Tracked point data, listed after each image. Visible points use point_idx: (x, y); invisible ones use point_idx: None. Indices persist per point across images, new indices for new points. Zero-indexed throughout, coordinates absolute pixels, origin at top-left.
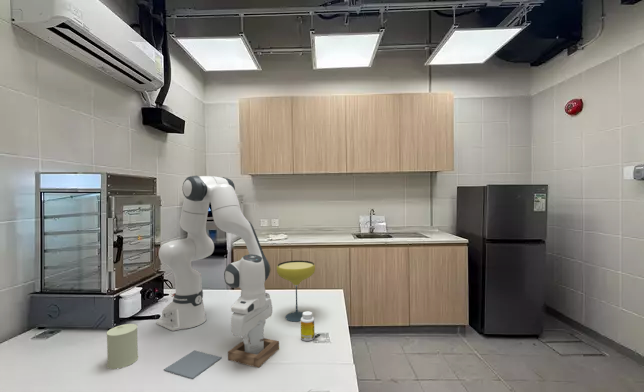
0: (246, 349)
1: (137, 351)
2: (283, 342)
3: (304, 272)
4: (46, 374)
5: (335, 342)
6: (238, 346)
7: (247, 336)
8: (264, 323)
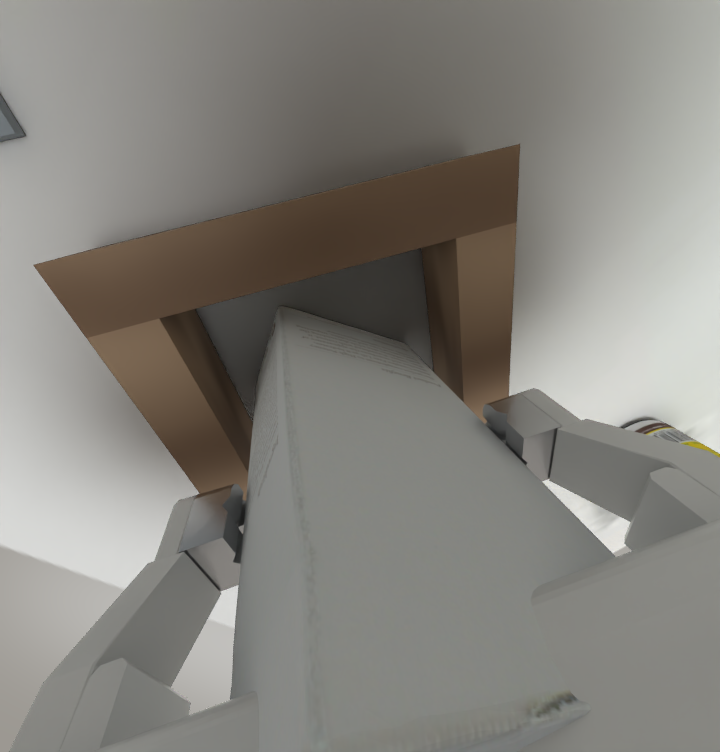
0: (262, 387)
1: None
2: (554, 387)
3: None
4: None
5: (605, 537)
6: (224, 270)
7: (178, 660)
8: (632, 516)
